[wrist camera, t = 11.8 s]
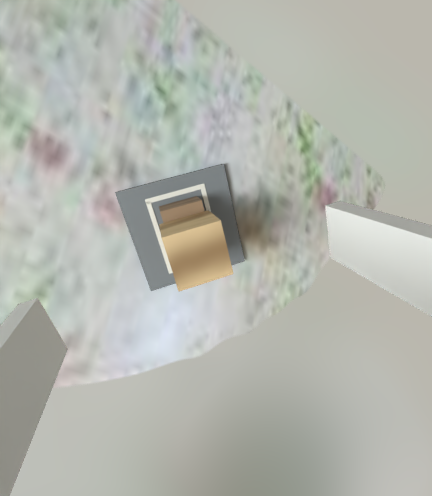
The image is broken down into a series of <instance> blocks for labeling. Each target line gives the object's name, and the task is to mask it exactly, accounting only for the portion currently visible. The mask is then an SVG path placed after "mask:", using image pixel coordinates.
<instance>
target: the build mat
mask: <svg viewBox="0 0 432 496" xmlns="http://www.w3.org/2000/svg"><path fill="white" fill-rule="evenodd" d="M115 193H116V196H117V199H118V202H119V204H120V207H121V210H122V213H123V215H124V218H125V221H126V224H127V226H128V229H129V232H130V234H131V237H132V240H133V243H134V245H135V248H136V251H137V254H138V256H139V259H140V262H141V265H142V267H143V270H144V273H145V276H146V278H147V281H148V284H149V287H150V289H151V291H153V290H156V289H159V288H162V287H165V286H169V285H172V284H175V283H176V281H175V278H174V275H173V272H172V269H171V266H170V263H169V260H168V257H167V253H166V250H165V247H164V244H163V241H162V238H161V232H160V226H159V224H162V223H163V220H162V217H161V213H160V210H159V206H162V205H166V204H169V203H173V202H177V201H180V200H184V199H187V198H191V197H195V196H197V197H198V198H200V199H201V200H202V203H203V207H204V211H207V210H209V211H210V212H211V213H213V214H214V215H215V216H216V217H217V218H219V219H220V220H221V223H222V227H223V232H224V236H225V240H226V244H227V249H228V253H229V257H230V261H231V265H234V264H237V263H240V262H244V261H245V260H244V256H243V251H242V246H241V242H240V237H239V232H238V228H237V223H236V219H235V214H234V209H233V205H232V200H231V195H230V191H229V186H228V181H227V177H226V172H225V168H224V164H221V165H217V166H213V167H209V168H205V169H202V170H198V171H194V172H190V173H187V174H183V175H179V176H175V177H171V178H168V179H164V180H160V181H156V182H152V183H149V184H145V185H141V186H137V187H134V188H130V189H126V190H122V191H118V192H115Z"/></svg>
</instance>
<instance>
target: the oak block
mask: <svg viewBox="0 0 432 496" xmlns="http://www.w3.org/2000/svg"><path fill="white" fill-rule="evenodd" d="M159 226H160V232H161V238H162V241H163V244H164V247H165V250H166V253H167V257H168V260H169V263H170V266H171V269H172V272H173V275H174V278H175V281H176V284H177V288H178V291H182V290H185V289H188V288H191V287H194V286H198V285H201V284H204V283H207V282H210V281H213V280H216V279H219V278H222V277H225V276H228V275H231V274H233V270H232V266H231V261H230V257H229V253H228V249H227V244H226V240H225V236H224V232H223V227H222V223H221V220H220V219H219V218H217V217H216V216H215V215H214V214H213V213H211V212H210V211H209V210H207V211H204V212H200V213H197V214H193V215H190V216H186V217H183V218H179V219H176V220H172V221H169V222H165V223H162V224H159Z"/></svg>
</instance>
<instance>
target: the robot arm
mask: <svg viewBox="0 0 432 496" xmlns="http://www.w3.org/2000/svg"><path fill="white" fill-rule="evenodd" d="M325 207H326V218H327V229H328V240H329V251H330V258H332V259H334V260H335V261H337V262H339V263H341V264H342V265H344V266H346V267H348V268H349V269H351V270H352V271H354V272H356V273H358V274H359V275H361V276H363V277H364V278H366V279H368V280H370V281H371V282H373V283H375V284H376V285H378V286H380V287H381V288H383V289H385V290H387V291H388V292H390V293H392V294H393V295H395V296H397V297H399V298H400V299H402V300H404V301H405V302H407V303H409V304H411V305H412V306H414V307H416V308H418V309H419V310H421V311H423V312H424V313H426V314H428V315H430V316H431V317H432V225H429V224H425V223H422V222H418V221H414V220H410V219H406V218H403V217H399V216H395V215H391V214H387V213H384V212H380V211H376V210H372V209H368V208H365V207H361V206H357V205H353V204H349V203H346V202H342V201H338V202H335V203H332V204H329V205H326V206H325ZM67 350H68V348H67V347H66V345H65V343H64V342H63V340H62V338H61V337H60V335H59V333H58V331H57V330H56V328H55V326H54V325H53V323H52V321H51V320H50V318H49V316H48V314H47V313H46V311H45V309H44V308H43V306H42V304H41V302H40V301H39V299H38V298H36V299H33V300H30V301H27V302H23V303H20V304H18V305H17V306H16V307H15V309H14V310H13V311H12V312H11V313H10V315H9V316H8V317H7V318H6V319H5V321H4V322H3V323H2V324H1V325H0V496H10V493H11V491H12V488H13V486H14V483H15V481H16V478H17V476H18V473H19V471H20V468H21V466H22V463H23V461H24V458H25V456H26V453H27V451H28V448H29V446H30V443H31V440H32V438H33V435H34V433H35V430H36V428H37V425H38V423H39V420H40V418H41V415H42V413H43V410H44V408H45V405H46V402H47V400H48V397H49V395H50V392H51V390H52V388H53V385H54V383H55V380H56V378H57V375H58V372H59V370H60V367H61V365H62V362H63V360H64V357H65V355H66V352H67Z"/></svg>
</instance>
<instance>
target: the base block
mask: <svg viewBox="0 0 432 496" xmlns="http://www.w3.org/2000/svg"><path fill="white" fill-rule="evenodd" d="M159 210H160V213H161V217H162V220H163V223H165V222H169V221H172V220H176V219H179V218H183V217H186V216H190V215H193V214H197V213H200V212H204V207H203V203H202V200H201V199H200V198H198V197H197V196H195V197H191V198H187V199H184V200H180V201H177V202H173V203H169V204H166V205H162V206H159Z"/></svg>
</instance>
